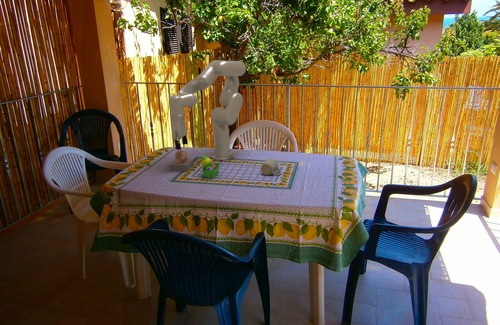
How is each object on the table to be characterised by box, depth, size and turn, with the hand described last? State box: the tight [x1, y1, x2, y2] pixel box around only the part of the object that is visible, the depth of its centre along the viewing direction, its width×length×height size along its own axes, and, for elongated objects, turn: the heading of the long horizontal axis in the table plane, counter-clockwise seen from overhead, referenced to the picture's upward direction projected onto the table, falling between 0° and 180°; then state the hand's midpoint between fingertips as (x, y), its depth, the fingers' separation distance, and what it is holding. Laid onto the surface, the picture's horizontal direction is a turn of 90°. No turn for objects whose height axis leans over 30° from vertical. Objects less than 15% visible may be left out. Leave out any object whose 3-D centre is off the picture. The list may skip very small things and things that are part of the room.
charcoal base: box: [169, 158, 194, 173], centre depth 219 cm, size 10×10×4 cm
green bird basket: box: [200, 155, 221, 179], centre depth 206 cm, size 11×9×11 cm
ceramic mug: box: [260, 157, 282, 176], centre depth 206 cm, size 11×8×8 cm
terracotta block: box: [174, 150, 188, 163], centre depth 217 cm, size 5×5×6 cm
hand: (181, 146), depth 216 cm, fingers open, 9 cm apart
